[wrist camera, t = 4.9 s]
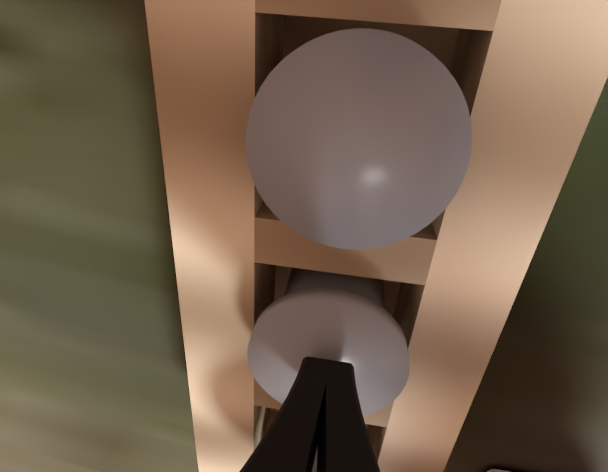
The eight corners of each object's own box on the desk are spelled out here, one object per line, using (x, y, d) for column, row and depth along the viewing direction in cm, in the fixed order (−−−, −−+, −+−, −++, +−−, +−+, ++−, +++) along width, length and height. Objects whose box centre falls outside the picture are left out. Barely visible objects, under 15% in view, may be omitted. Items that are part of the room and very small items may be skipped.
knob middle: (388, 332, 17) (393, 429, 13) (275, 315, 17) (247, 405, 13) (410, 232, 14) (426, 315, 11) (278, 216, 15) (246, 290, 11)
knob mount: (411, 444, 21) (419, 529, 18) (226, 413, 22) (200, 487, 19) (567, -32, 11) (660, -51, 7) (204, -56, 12) (134, -82, 8)
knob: (420, 188, 14) (441, 261, 10) (280, 172, 14) (246, 236, 10) (457, 28, 11) (503, 40, 7) (286, 15, 12) (244, 19, 8)
